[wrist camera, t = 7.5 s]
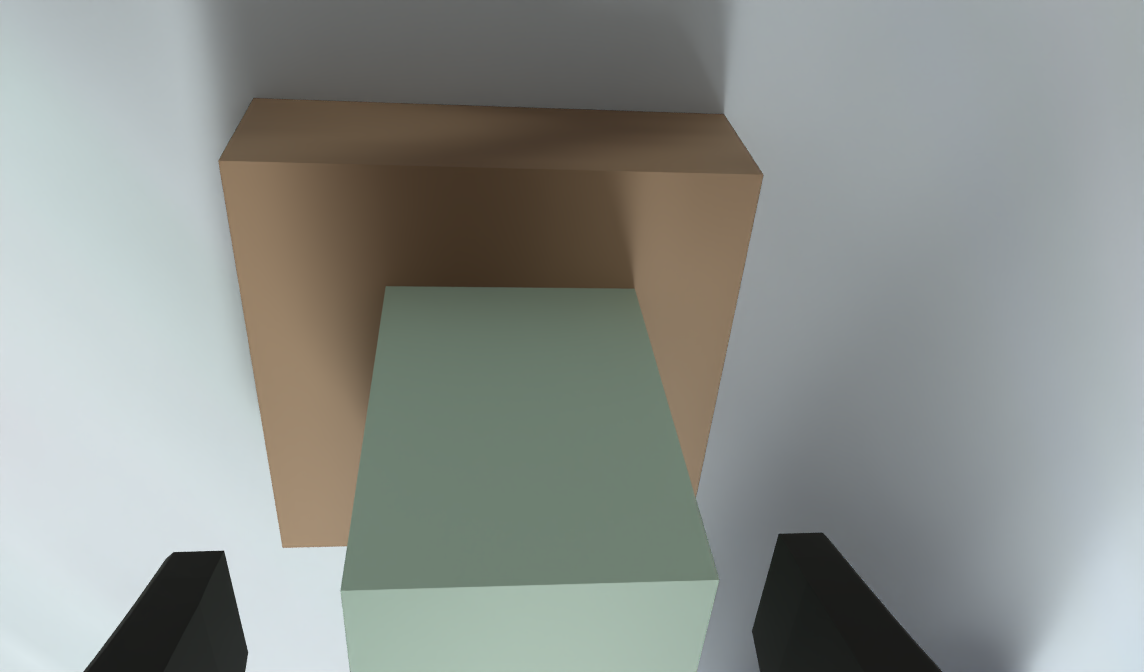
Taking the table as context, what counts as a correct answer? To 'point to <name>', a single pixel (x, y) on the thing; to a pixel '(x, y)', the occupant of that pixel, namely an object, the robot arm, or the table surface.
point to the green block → (522, 492)
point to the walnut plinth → (467, 252)
